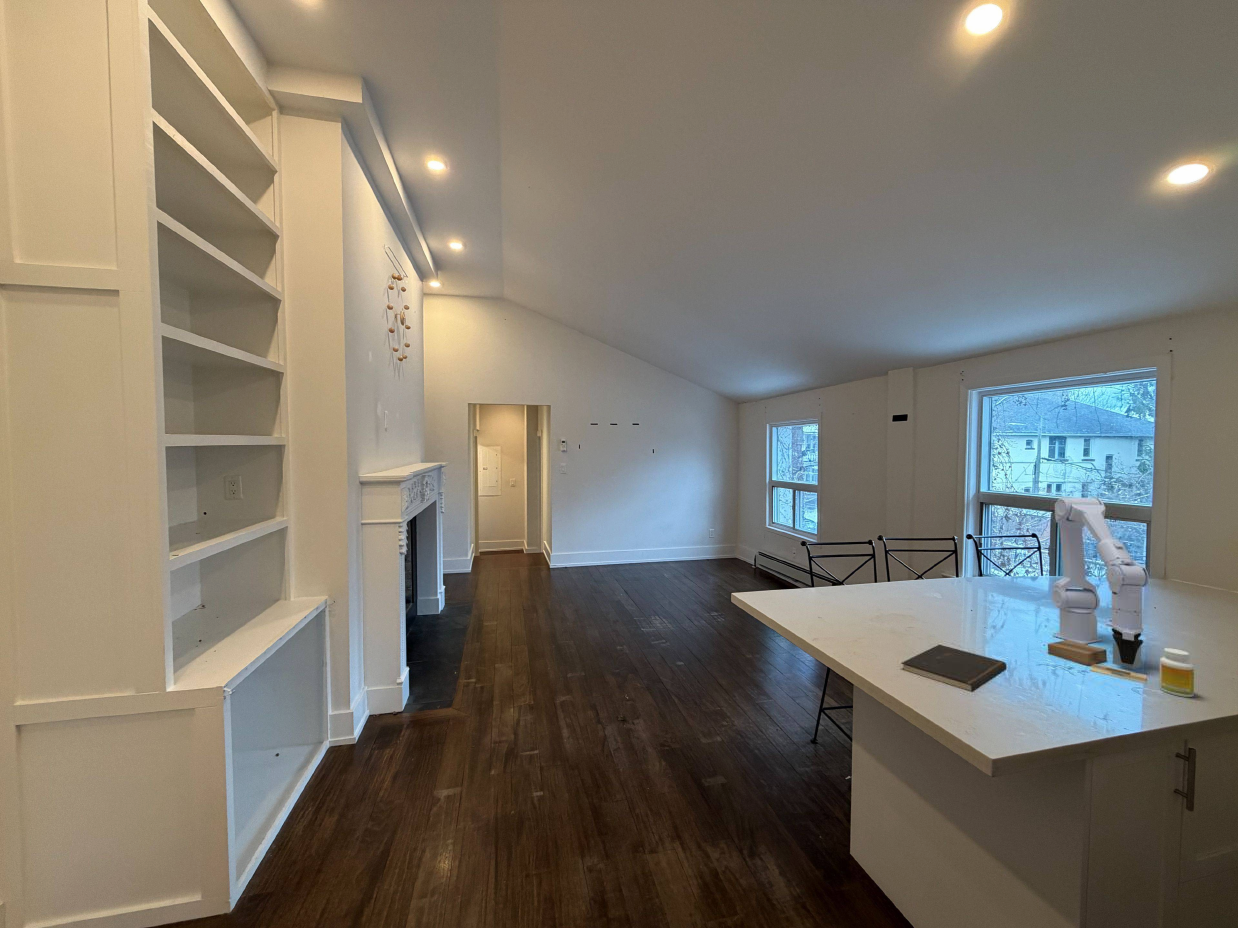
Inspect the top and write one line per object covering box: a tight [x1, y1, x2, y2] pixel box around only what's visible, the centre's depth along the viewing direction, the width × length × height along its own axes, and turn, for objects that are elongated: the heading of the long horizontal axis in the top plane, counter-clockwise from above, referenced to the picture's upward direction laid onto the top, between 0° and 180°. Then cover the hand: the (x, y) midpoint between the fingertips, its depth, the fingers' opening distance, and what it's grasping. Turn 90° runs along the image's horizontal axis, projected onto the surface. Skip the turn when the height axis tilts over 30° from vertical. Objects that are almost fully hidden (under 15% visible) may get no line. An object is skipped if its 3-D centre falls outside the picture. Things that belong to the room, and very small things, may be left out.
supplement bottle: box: [1159, 647, 1195, 698], centre depth 116 cm, size 5×5×10 cm
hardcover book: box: [901, 644, 1007, 693], centre depth 129 cm, size 16×23×2 cm
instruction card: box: [1089, 663, 1148, 685], centre depth 127 cm, size 7×10×1 cm
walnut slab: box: [1047, 639, 1108, 666], centre depth 137 cm, size 9×9×3 cm
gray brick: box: [1112, 642, 1142, 670], centre depth 132 cm, size 4×4×6 cm
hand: (1126, 660), depth 132 cm, fingers closed on gray brick, 5 cm apart
